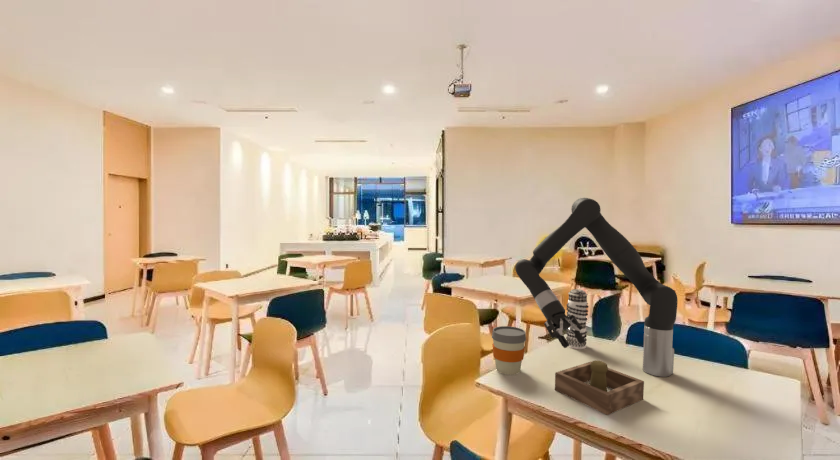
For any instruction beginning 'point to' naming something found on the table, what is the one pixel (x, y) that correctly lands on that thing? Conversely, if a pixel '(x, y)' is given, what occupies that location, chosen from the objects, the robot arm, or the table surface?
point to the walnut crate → (606, 402)
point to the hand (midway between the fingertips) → (575, 344)
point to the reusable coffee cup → (508, 349)
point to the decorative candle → (577, 316)
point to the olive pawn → (599, 375)
